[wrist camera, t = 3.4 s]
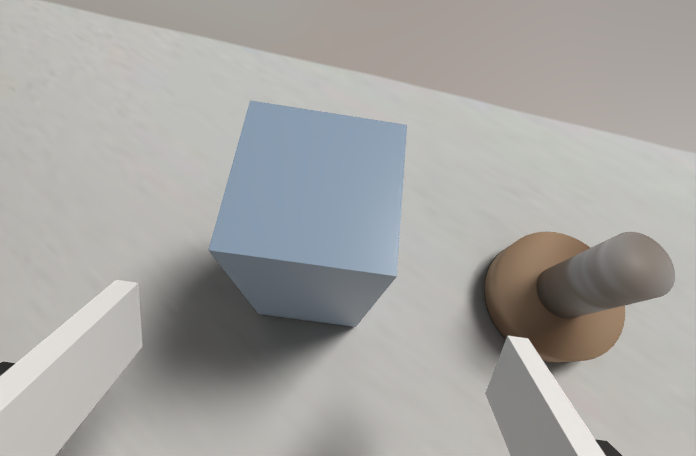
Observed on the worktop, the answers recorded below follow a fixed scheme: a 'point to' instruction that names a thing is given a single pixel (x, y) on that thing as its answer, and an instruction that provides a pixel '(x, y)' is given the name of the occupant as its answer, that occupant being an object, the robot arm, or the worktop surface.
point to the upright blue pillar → (312, 213)
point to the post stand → (573, 290)
